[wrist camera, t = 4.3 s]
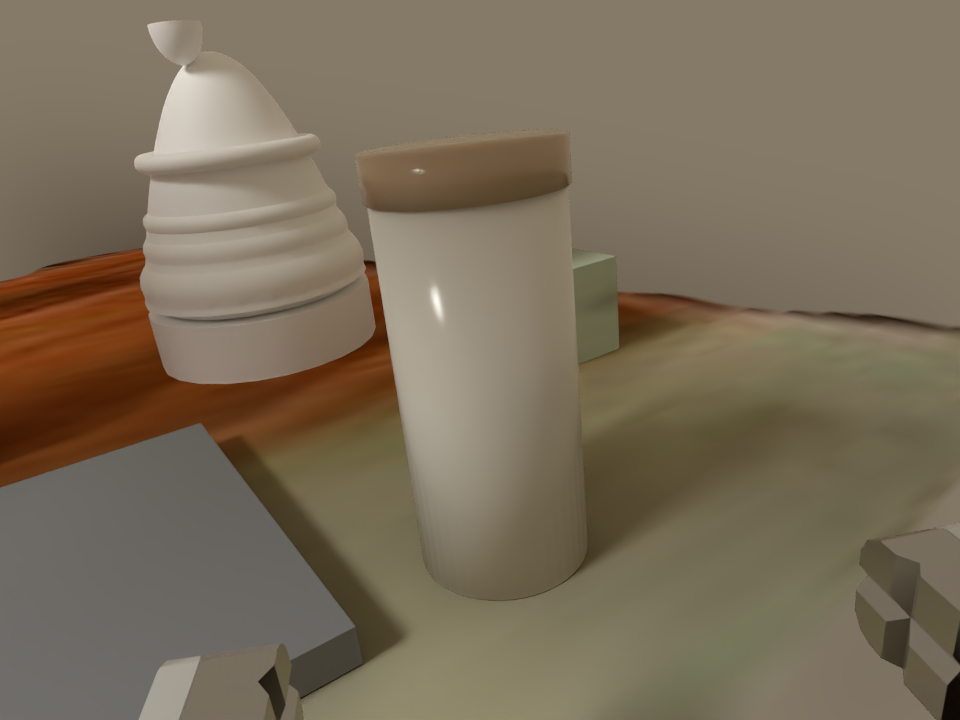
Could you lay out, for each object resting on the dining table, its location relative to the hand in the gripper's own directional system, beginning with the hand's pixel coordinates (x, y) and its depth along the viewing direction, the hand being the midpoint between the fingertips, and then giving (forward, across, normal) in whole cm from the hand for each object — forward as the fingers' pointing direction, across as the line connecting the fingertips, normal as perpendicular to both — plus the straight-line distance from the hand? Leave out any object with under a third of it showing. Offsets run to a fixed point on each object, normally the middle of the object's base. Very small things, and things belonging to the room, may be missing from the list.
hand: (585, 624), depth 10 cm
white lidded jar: (+11, 0, +6) cm, 13 cm away
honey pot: (+35, +11, +7) cm, 37 cm away
